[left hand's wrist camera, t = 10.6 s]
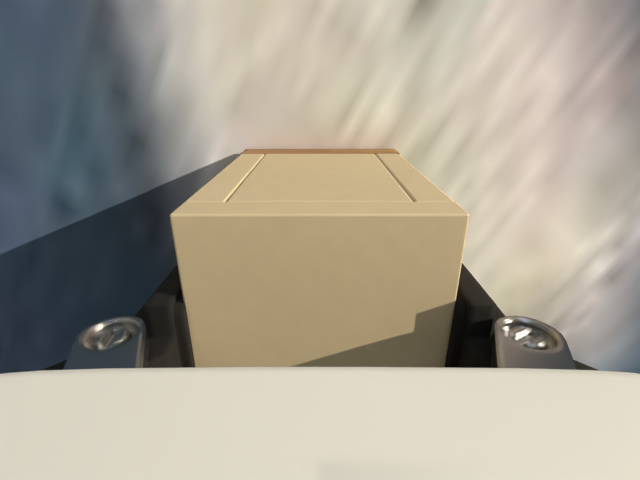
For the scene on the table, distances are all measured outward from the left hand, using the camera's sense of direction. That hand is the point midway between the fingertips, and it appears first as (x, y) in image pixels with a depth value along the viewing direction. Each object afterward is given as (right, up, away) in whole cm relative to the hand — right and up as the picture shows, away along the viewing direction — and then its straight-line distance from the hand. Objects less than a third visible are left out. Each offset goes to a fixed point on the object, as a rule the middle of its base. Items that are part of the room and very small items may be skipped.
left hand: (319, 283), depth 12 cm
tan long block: (0, -5, +7) cm, 9 cm away
